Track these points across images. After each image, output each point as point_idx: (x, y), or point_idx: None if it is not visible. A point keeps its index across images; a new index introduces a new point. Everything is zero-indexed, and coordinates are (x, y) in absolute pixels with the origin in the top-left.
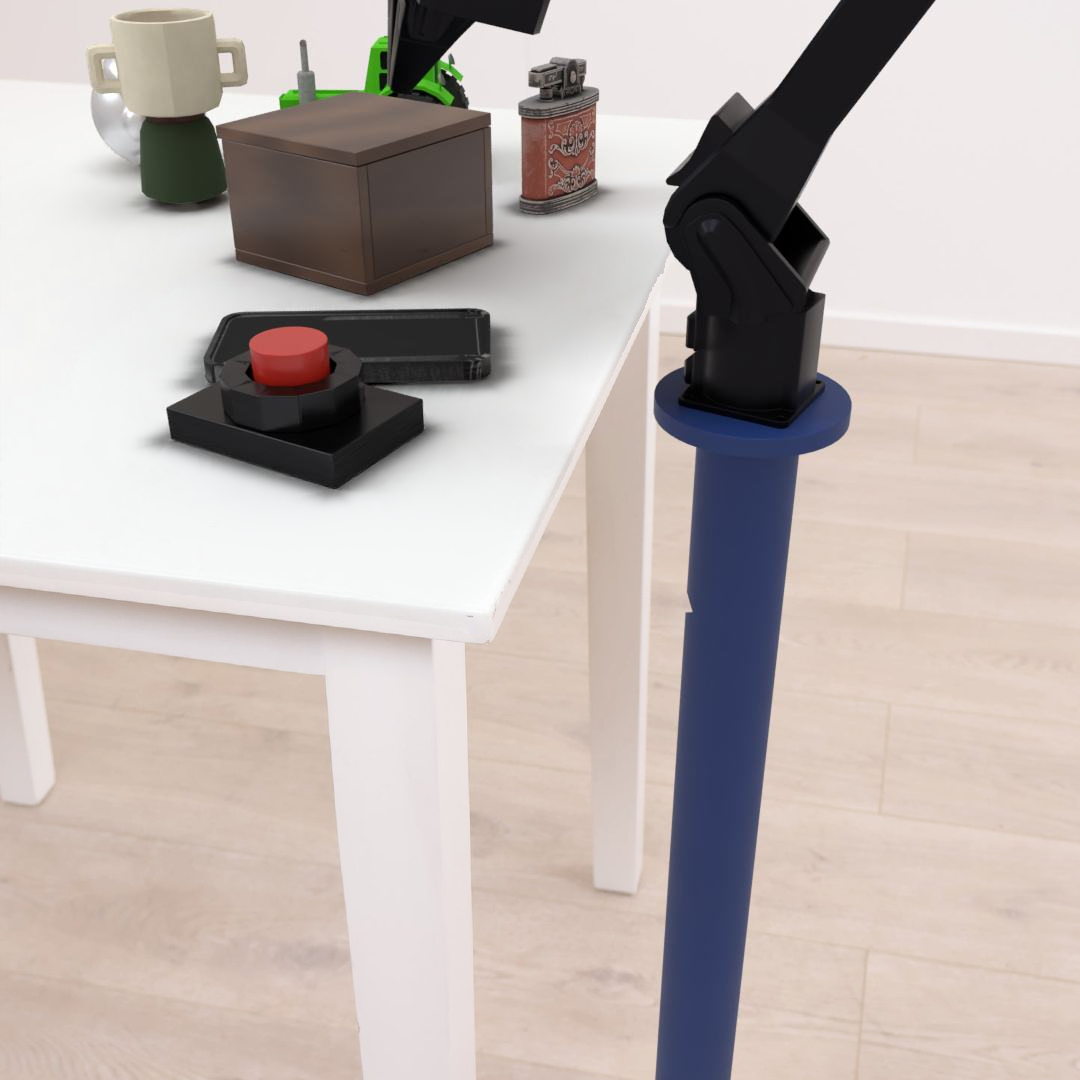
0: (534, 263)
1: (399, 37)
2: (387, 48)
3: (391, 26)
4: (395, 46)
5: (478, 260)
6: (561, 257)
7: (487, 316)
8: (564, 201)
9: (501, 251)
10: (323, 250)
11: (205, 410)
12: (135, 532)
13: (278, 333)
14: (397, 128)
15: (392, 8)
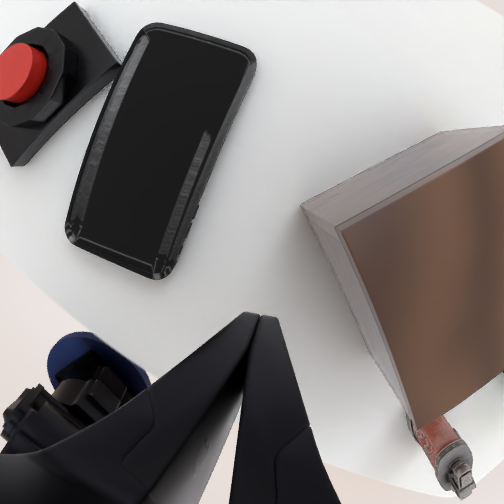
0: (309, 368)
1: (149, 389)
2: (290, 365)
3: (251, 411)
4: (193, 372)
5: (341, 331)
6: (311, 390)
7: (146, 274)
8: (408, 421)
9: (351, 355)
10: (358, 181)
11: (55, 24)
12: (9, 9)
13: (23, 62)
14: (428, 326)
15: (238, 456)
